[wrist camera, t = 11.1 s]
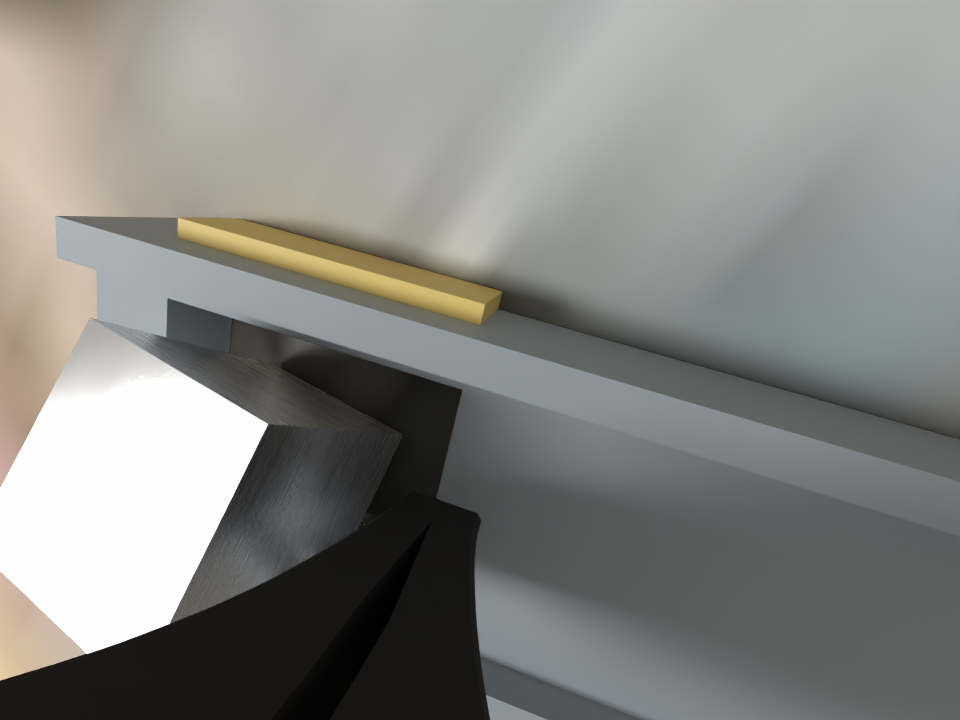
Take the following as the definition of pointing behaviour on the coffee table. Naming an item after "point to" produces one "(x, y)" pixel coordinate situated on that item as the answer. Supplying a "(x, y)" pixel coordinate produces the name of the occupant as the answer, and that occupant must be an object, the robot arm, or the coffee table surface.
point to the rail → (612, 489)
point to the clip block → (177, 482)
